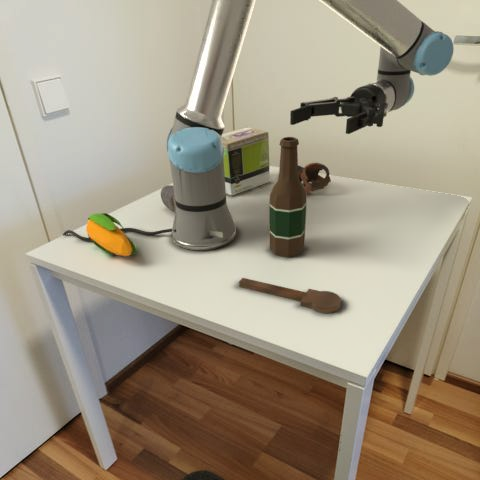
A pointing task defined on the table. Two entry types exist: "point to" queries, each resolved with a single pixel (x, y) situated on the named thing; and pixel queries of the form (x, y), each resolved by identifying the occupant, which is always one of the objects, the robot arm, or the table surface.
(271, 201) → the beer bottle
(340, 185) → the table surface
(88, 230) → the corn
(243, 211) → the table surface
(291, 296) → the wooden spoon
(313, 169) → the brown rounded hollow piece
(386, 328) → the table surface
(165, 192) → the perforated stone tool
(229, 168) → the tea box
